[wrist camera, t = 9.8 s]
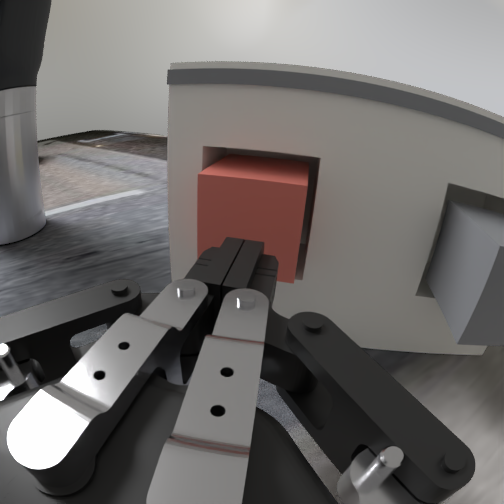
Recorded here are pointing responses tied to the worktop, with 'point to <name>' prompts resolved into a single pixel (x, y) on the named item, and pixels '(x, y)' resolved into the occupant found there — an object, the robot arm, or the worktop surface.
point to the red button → (254, 206)
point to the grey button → (470, 274)
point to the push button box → (342, 185)
